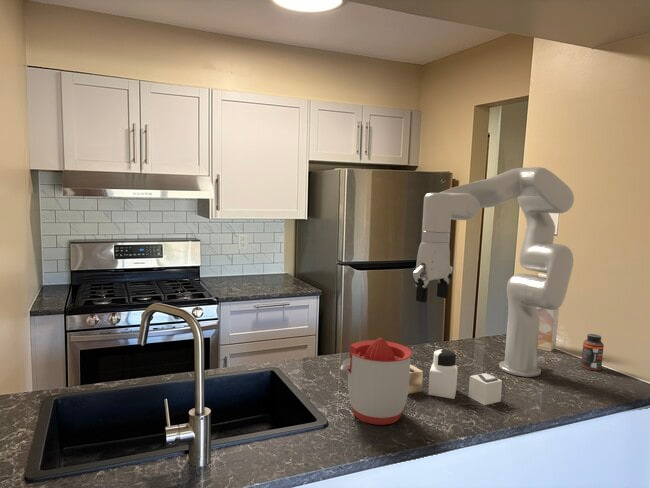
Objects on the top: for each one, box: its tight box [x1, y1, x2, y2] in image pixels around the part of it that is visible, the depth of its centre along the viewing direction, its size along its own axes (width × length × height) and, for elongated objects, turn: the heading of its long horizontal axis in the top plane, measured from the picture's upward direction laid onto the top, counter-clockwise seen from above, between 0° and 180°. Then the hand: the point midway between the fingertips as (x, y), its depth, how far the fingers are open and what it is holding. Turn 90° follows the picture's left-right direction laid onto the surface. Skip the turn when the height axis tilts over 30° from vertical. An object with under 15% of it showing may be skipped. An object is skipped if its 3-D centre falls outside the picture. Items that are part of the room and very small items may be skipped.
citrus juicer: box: [340, 337, 413, 426], centre depth 118 cm, size 16×17×20 cm
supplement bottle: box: [581, 333, 605, 372], centre depth 159 cm, size 6×6×11 cm
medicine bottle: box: [427, 348, 459, 400], centre depth 134 cm, size 7×7×12 cm
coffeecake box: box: [536, 307, 560, 353], centre depth 181 cm, size 15×7×20 cm, turn 50°
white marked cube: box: [468, 372, 503, 406], centre depth 131 cm, size 6×6×6 cm
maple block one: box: [408, 364, 424, 395], centre depth 136 cm, size 6×6×6 cm
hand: (431, 299), depth 132 cm, fingers open, 9 cm apart
